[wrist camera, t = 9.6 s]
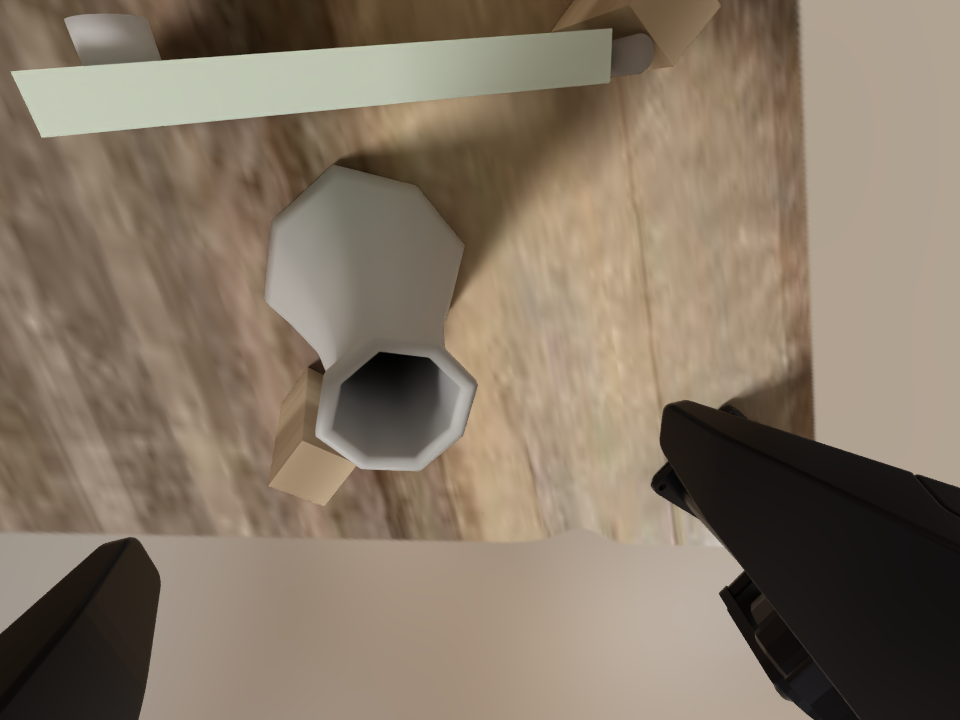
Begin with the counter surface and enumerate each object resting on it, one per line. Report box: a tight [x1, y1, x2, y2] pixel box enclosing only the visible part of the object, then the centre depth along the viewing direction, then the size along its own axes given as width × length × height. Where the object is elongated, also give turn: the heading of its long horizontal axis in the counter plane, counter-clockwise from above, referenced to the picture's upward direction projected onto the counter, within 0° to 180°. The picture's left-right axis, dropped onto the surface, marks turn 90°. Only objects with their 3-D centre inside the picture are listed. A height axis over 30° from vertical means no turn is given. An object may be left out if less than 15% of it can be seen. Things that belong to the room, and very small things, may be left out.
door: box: [11, 14, 612, 138], centre depth 13 cm, size 2×13×5 cm, turn 95°
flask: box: [264, 165, 478, 471], centre depth 14 cm, size 7×7×10 cm
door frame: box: [268, 0, 721, 506], centre depth 16 cm, size 2×19×5 cm, turn 140°
